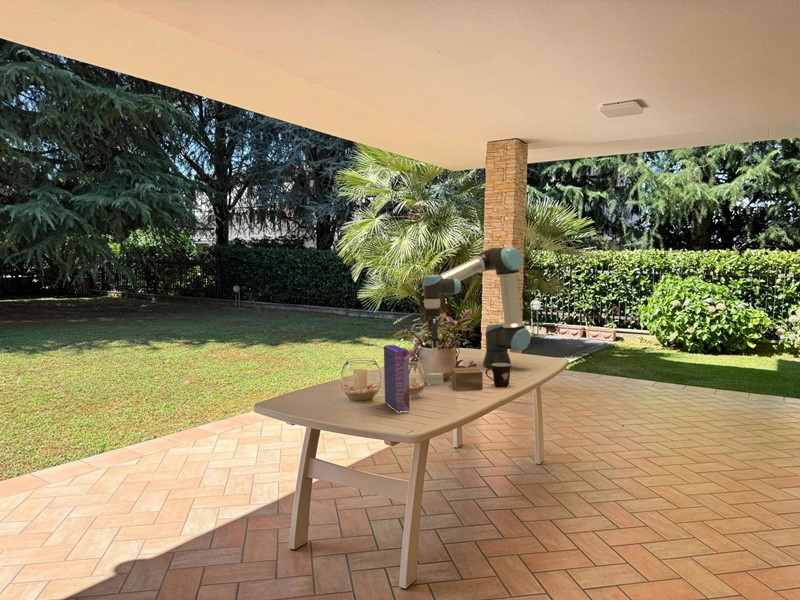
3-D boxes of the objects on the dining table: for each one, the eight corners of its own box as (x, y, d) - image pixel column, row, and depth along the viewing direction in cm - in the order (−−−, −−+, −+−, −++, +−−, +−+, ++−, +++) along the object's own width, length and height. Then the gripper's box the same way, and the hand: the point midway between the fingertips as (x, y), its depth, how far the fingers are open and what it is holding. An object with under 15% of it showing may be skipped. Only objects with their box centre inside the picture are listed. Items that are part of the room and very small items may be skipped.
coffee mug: (510, 384, 260) (509, 363, 259) (512, 388, 251) (511, 366, 251) (484, 384, 261) (484, 363, 260) (485, 388, 252) (485, 366, 252)
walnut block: (451, 385, 260) (451, 368, 260) (477, 384, 261) (476, 367, 261) (456, 390, 248) (455, 373, 248) (482, 389, 249) (482, 372, 249)
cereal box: (409, 412, 214) (408, 350, 213) (397, 413, 213) (396, 351, 211) (396, 402, 231) (394, 344, 229) (385, 403, 229) (383, 345, 228)
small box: (439, 381, 271) (438, 370, 270) (443, 384, 263) (443, 373, 263) (423, 382, 269) (423, 371, 269) (427, 385, 261) (427, 374, 261)
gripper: (421, 306, 276) (422, 348, 277) (427, 310, 251) (428, 356, 252) (436, 305, 276) (437, 348, 277) (443, 309, 251) (444, 356, 253)
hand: (432, 352), depth 265 cm, fingers open, 13 cm apart
